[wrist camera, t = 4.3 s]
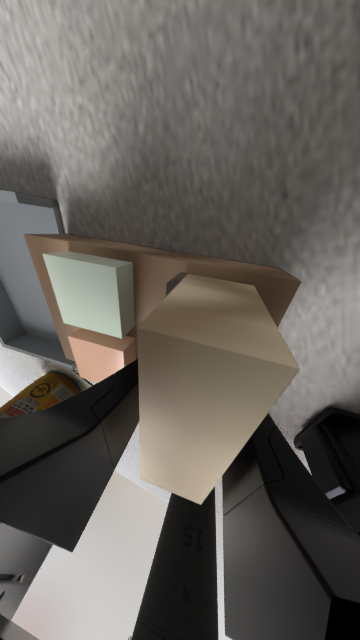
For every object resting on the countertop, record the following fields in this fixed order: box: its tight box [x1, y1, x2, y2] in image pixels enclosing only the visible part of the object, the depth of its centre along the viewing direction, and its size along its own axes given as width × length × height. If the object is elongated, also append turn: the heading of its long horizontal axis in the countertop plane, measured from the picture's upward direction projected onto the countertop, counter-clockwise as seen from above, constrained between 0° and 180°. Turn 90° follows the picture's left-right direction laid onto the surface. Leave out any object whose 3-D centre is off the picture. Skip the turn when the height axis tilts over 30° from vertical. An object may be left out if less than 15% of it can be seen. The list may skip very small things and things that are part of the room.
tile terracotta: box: [68, 328, 136, 383], centre depth 11 cm, size 4×4×2 cm
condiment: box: [0, 362, 91, 418], centre depth 18 cm, size 7×8×12 cm
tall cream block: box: [137, 272, 300, 505], centre depth 7 cm, size 3×9×5 cm, turn 173°
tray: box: [0, 190, 77, 369], centre depth 14 cm, size 9×14×2 cm, turn 173°
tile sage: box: [43, 251, 135, 339], centre depth 9 cm, size 4×4×2 cm
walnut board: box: [23, 234, 301, 361], centre depth 12 cm, size 15×10×3 cm, turn 83°
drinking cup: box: [128, 486, 218, 640], centre depth 15 cm, size 8×8×20 cm
